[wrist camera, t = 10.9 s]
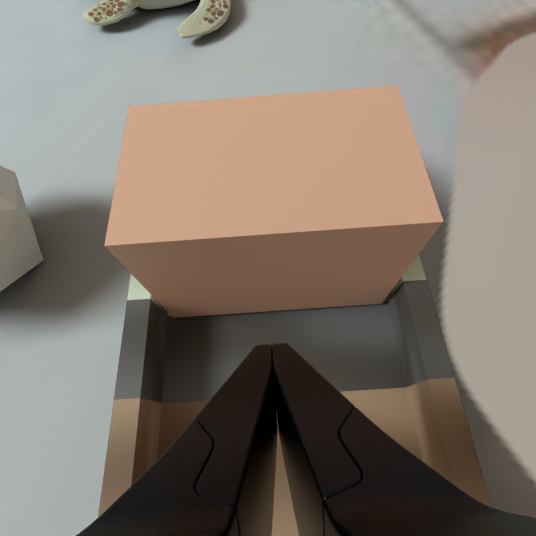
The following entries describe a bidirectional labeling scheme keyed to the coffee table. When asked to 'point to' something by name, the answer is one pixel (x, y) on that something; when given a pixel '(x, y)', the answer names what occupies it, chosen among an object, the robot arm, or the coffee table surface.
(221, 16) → the decorative turtle
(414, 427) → the track
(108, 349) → the coffee table surface
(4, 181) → the die
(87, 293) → the coffee table surface
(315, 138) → the block
